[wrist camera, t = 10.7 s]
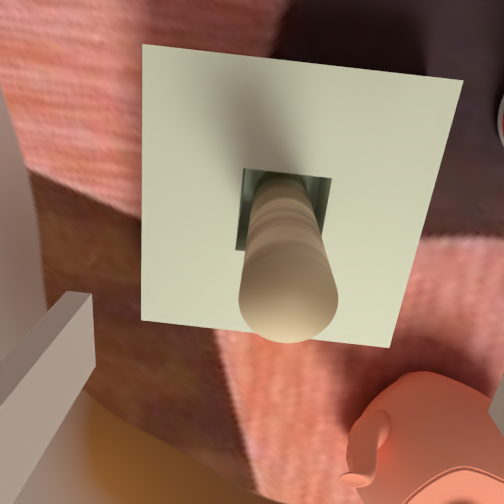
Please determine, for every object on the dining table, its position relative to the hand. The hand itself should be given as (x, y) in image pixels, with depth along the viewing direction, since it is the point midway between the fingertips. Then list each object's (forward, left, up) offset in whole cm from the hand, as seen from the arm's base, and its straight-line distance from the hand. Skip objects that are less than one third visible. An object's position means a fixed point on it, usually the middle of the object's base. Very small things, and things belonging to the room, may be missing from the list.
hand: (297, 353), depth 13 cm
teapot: (+20, +15, -21) cm, 33 cm away
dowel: (0, 0, -20) cm, 20 cm away
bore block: (0, 0, -21) cm, 21 cm away
